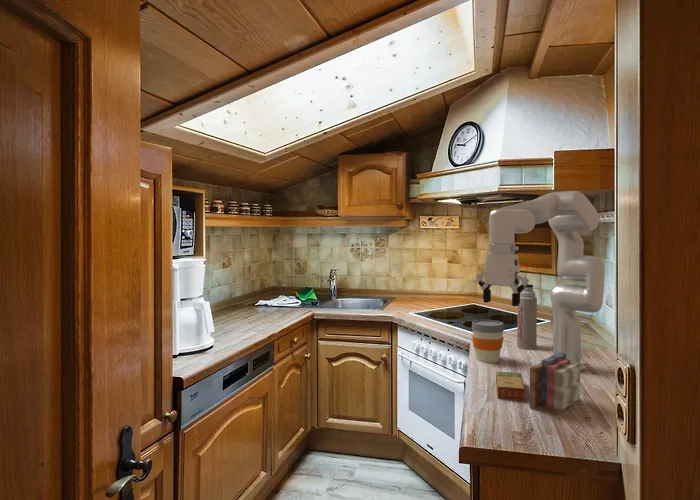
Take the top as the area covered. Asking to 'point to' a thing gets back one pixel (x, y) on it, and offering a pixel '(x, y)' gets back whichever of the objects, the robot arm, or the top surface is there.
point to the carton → (510, 386)
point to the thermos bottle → (527, 319)
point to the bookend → (554, 384)
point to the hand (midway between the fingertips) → (501, 304)
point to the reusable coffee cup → (487, 340)
